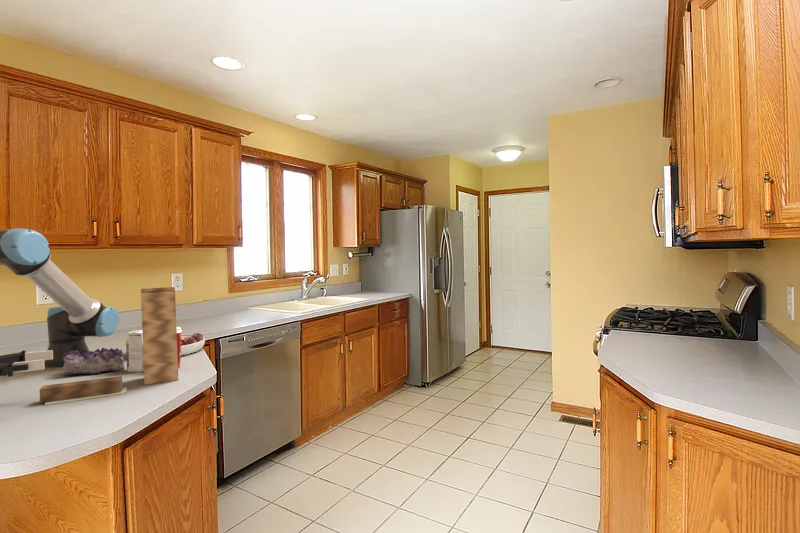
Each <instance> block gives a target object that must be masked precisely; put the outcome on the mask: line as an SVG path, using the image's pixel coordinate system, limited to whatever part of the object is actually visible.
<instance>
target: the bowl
mask: <svg viewBox="0 0 800 533" xmlns="http://www.w3.org/2000/svg"><path fill="white" fill-rule="evenodd" d="M205 342H206V337H205V336H203V334H201V333H199V332H195V333H193V334H181V356H180V357H183V355H184V356H187V355H191V353H192V354H194V352H195V353H196V352H199V351H200V350H201V349H202V348H203V347H204V345H205Z"/></svg>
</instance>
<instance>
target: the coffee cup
mask: <svg viewBox="0 0 800 533" xmlns="http://www.w3.org/2000/svg"><path fill="white" fill-rule="evenodd" d="M181 328H182V327H180V326H176V329H177V356H178V369H180V368H181V357H182V356H181V335H182V332H183V330H182V329H181Z"/></svg>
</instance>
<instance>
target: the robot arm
mask: <svg viewBox="0 0 800 533" xmlns="http://www.w3.org/2000/svg"><path fill="white" fill-rule="evenodd" d="M49 245H50V244H49V242H48V240H47V238H46V237H45V236H44V235H43V234H41V232H38V231H36V230H33V229H28V228H21V227H20V228H19V227H18V228H10V229H8V228H6V229H0V266H6V267H7V268H8V269H9V270H10V271H11V272H12V273H14V274H15V275H16V276H20V277H23V276H24V277H26V278H28V280H30V281H31V282H32V283H33V284H34V285H35V286H36V287H38V288H39V290H41V291H42V292H43V293H44V294H45V295H47V297H49V298H50V299H51V300H52V301H54V302H55V303H56V304H57V305H58V306H51V307H49V308H48V310H47V317H46V321H47V335H48V336H47V337H48V347H47V350H41V351H29V352H26V351H27V350H23V349H22V350H21V351H20V352H15V353H8V354H1V355H0V377H8V378H10V377H13V376H14V374H17V373H23V372H26V373H27V372H34V371H43V370H45V367H63V366H64V360H63V357H64V353H66V352H70V351H76V350H77V351H81V352H82V350H85V351H89V352H90V351H91V350H90V349H89V347H88V345H87V342H86V337H93V338H94V337H95V338H96V337H97V338H103V337H109V336H111V335H113V334H114V333H115V332H116V330H118V327H119V325H120V313H119V311H118V309H116V308H115V307H113V306H105V305H104V304H103V303H102V302H101V301H100V300H98V299H97V298H93V297H92V298H90V296H88V294H86V293H85V292H84V291H83V290H82V289H81V288H80V287H79V286H78V285H77V284H76V283H75V282H74V281H73V280H72V279H71V278H70V277H69V276H68V275H66V274H65V273H64V271H62V270H61V268H59V267H58V266H57V265H56V264H55V263H54V262H53V261H52V260H51V257H52V254H51V252H50V251H51V250H50V247H49Z"/></svg>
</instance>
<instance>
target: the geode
mask: <svg viewBox="0 0 800 533" xmlns="http://www.w3.org/2000/svg"><path fill="white" fill-rule="evenodd" d="M89 351H90V352H89ZM89 351H85V350H82V352H81V351H77V350H76V351H70V352H66V353H64V357H63V360H64V366H62V373H63V376H71V375H78V374H79V375H80V374H82V375H97V374H100V373H105V372H115V373H117V372H122V371H123V370H126V366H125V360H124V353H123V349H120V348H118V347H117V348H115V349H114V348H113V347H110V348H109V349H108V348H106V347H102V348H101V350H100V348H97V349H96V350H94V351H91V350H89Z"/></svg>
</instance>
